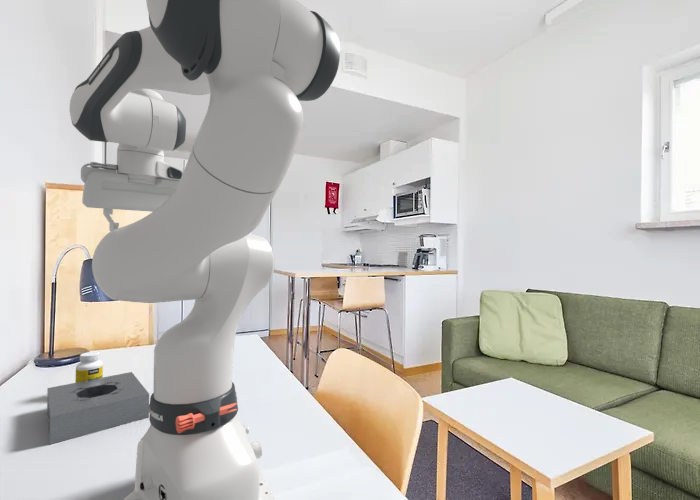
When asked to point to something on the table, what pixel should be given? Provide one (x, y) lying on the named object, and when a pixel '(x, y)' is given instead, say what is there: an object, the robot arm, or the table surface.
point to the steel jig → (95, 406)
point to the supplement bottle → (89, 367)
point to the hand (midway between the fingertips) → (139, 231)
